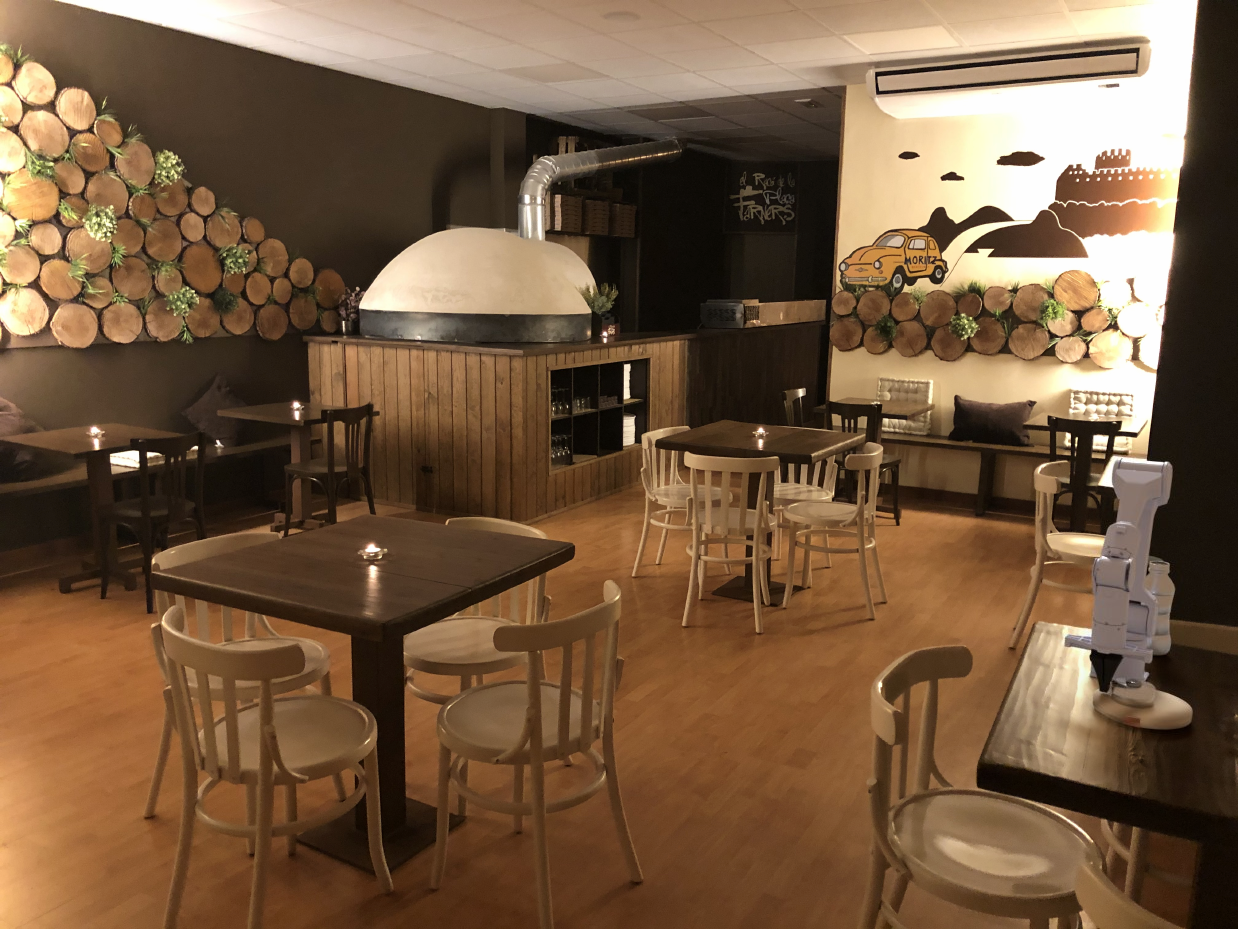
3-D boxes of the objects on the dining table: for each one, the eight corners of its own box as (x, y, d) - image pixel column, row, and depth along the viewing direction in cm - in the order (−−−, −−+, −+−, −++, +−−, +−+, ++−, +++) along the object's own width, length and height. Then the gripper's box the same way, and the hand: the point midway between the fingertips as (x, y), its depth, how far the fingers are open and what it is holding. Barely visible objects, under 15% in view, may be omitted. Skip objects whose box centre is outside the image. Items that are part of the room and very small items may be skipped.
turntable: (1082, 714, 176) (1083, 706, 176) (1103, 686, 189) (1104, 678, 188) (1183, 738, 166) (1184, 729, 166) (1198, 706, 179) (1199, 699, 179)
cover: (1106, 701, 178) (1108, 683, 177) (1116, 689, 183) (1117, 671, 182) (1149, 711, 173) (1150, 692, 173) (1157, 699, 179) (1159, 680, 178)
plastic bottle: (1174, 659, 204) (1182, 568, 201) (1139, 657, 206) (1147, 566, 202) (1164, 649, 211) (1172, 559, 207) (1130, 647, 212) (1137, 558, 209)
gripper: (1062, 618, 180) (1057, 687, 182) (1149, 634, 171) (1143, 707, 173) (1072, 609, 186) (1067, 676, 188) (1157, 624, 177) (1151, 694, 179)
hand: (1104, 690), depth 181 cm, fingers closed
